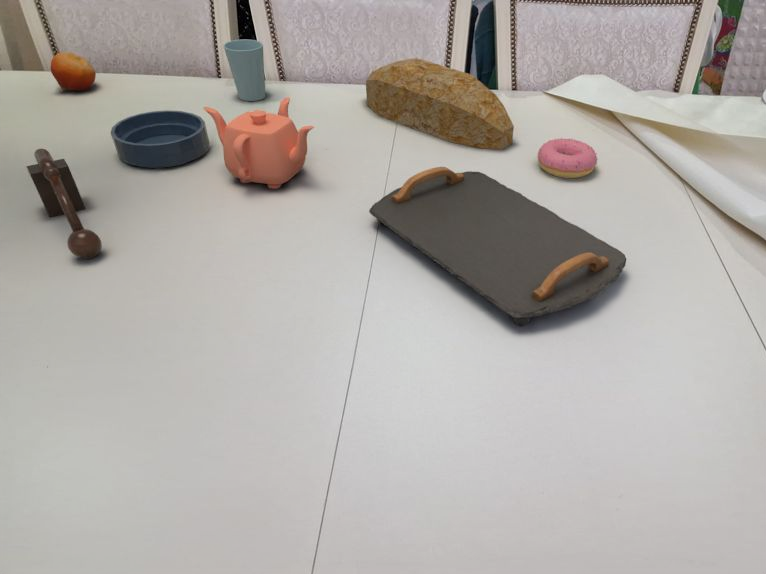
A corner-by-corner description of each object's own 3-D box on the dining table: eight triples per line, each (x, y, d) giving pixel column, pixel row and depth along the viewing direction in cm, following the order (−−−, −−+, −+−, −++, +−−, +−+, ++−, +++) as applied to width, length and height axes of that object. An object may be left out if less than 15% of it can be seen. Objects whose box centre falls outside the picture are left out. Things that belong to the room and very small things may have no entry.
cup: (278, 95, 133) (270, 44, 126) (251, 106, 128) (241, 53, 121) (254, 87, 136) (244, 37, 129) (226, 97, 131) (215, 45, 124)
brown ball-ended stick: (109, 258, 85) (85, 200, 79) (77, 267, 84) (51, 208, 78) (76, 198, 97) (53, 143, 91) (47, 205, 95) (22, 149, 89)
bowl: (114, 174, 104) (105, 148, 101) (124, 137, 114) (116, 113, 111) (209, 166, 107) (203, 141, 104) (210, 131, 118) (205, 108, 115)
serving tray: (356, 217, 97) (353, 180, 93) (467, 178, 109) (468, 144, 105) (528, 346, 76) (534, 307, 72) (642, 281, 88) (654, 244, 84)
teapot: (216, 166, 108) (201, 102, 100) (296, 153, 113) (288, 92, 106) (235, 203, 98) (221, 136, 91) (322, 187, 104) (314, 122, 96)
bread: (352, 106, 131) (349, 56, 124) (387, 93, 138) (385, 45, 131) (490, 156, 116) (494, 102, 109) (521, 138, 123) (527, 87, 116)
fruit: (47, 77, 131) (56, 41, 127) (90, 94, 136) (99, 60, 132) (43, 90, 125) (52, 53, 122) (87, 107, 130) (97, 72, 127)
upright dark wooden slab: (85, 208, 95) (68, 166, 90) (49, 217, 93) (29, 174, 88) (81, 200, 97) (64, 158, 92) (45, 208, 94) (26, 165, 90)
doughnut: (605, 167, 115) (610, 145, 112) (576, 187, 108) (580, 165, 105) (555, 150, 119) (558, 129, 117) (524, 168, 113) (527, 147, 110)
